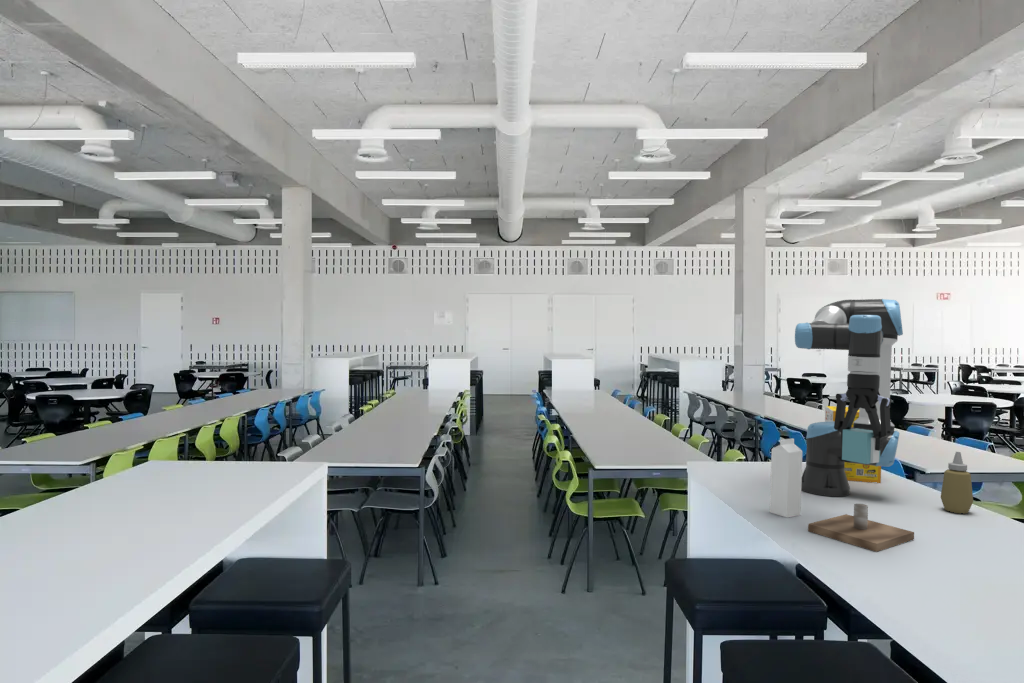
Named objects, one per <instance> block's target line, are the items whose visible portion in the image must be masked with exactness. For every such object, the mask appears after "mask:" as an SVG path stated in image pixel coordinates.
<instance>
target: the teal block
mask: <svg viewBox="0 0 1024 683" xmlns="http://www.w3.org/2000/svg"><path fill="white" fill-rule="evenodd" d="M873 436H874V434H873V431H872V430H865V429H858V428H855V429H844V430H843V441H842V460H847V461H853V462H858V463H863V464H870V456H871V438H873ZM879 462H880V451H879Z"/></svg>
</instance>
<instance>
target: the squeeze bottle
mask: <svg viewBox="0 0 1024 683" xmlns="http://www.w3.org/2000/svg"><path fill="white" fill-rule="evenodd" d="M963 462H964V461H963V457H962V453H961V452H960V451H955V453H954V457H953V459H952V462H948V465H947V468H948V469H946V470H944V472H943V477H942V478H943V479H942V486H941V491H940V500H941V502H942V507H943V509H944V510H945V511H947V512H949V511H950V513H953V512H954V514H961V513H963V515H964V514H968V513H969V512H970V509H972V508H971V507H972V505H973V503H974V495H973V487H972V486H973V484H972V474H971V473H970V472H968V465H967V464H965V463H963Z"/></svg>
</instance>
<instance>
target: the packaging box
mask: <svg viewBox="0 0 1024 683" xmlns="http://www.w3.org/2000/svg"><path fill="white" fill-rule="evenodd" d="M836 407H837V405H835V406H833V405H832V406H831V405H825V406H824V422H830V421H835V415H836ZM847 411H848V406H846V409H845V417H846V414H847ZM858 418H859V410H858V411H857V413H856V416H855V419H854V421H855V420H857V419H858ZM844 419H845V418H844ZM854 421H853V423H854ZM851 427H853V424H852V426H851ZM844 469H845V473H846V477H847V480H848V482H849V481H850V482H860V481H862V482H863V483H872V482H877V484H881V482H882V480H881V479H882V466H873V465H865V464H856V463H848V462H845V467H844ZM862 482H861V483H862Z"/></svg>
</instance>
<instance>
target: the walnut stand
mask: <svg viewBox="0 0 1024 683" xmlns="http://www.w3.org/2000/svg"><path fill="white" fill-rule="evenodd" d="M853 504H854V505H853V515H850V514H847V513H845V514H842V515H837V516H834V517H829V518H826V519H822V520H818V521H814V522H809V523H808V524H807V525H808V526H807V527H808V528H807V532H810V533H813V534H817V535H820V536H823V537H827V538H830V539H833V540H835V541H836V540H837V541H839V542H843V543H846V544H849V545H853V546H856V547H859V548H862V549H866V550H869V551H873V552H876V553H877V552H881V551H883V550H887V549H890V548H893V547H896V546H899V545H902V544H901V543H903V544H905V543H904V542H906V543H908V542H907V541H909V542H911V541H910V540H912V541H914V540H915V531H911V530H908V529H907V530H906V529H903V528H899V527H896V526H892V525H889V524H885V523H881V522H877V521H874V520H869V519H868V516H869V515H868V514H869V505H867V504H866V503H865V504H864V503H853ZM913 539H914V540H913ZM898 544H899V545H898ZM895 545H896V546H895ZM889 547H890V548H889Z"/></svg>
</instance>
